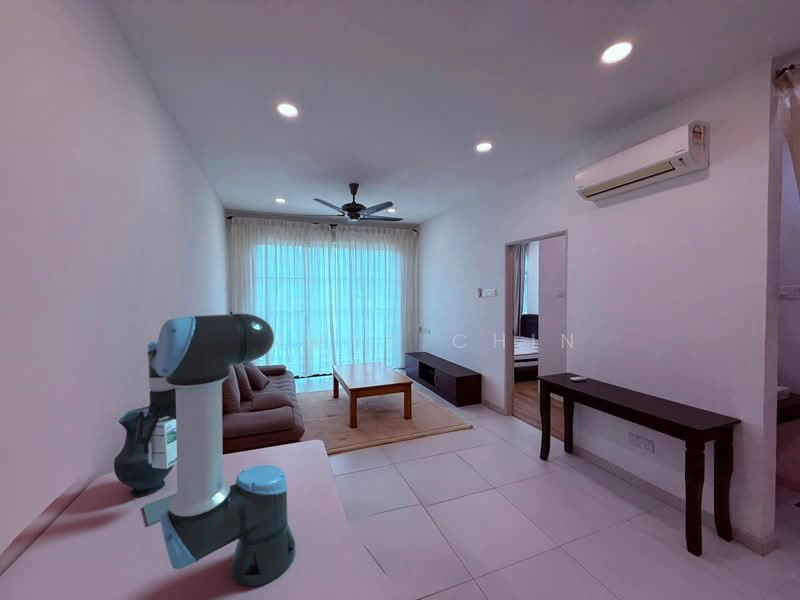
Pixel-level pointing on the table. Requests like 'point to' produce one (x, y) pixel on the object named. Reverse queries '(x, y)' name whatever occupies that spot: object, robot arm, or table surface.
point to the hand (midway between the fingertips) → (166, 457)
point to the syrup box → (164, 443)
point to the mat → (156, 509)
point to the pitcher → (137, 459)
